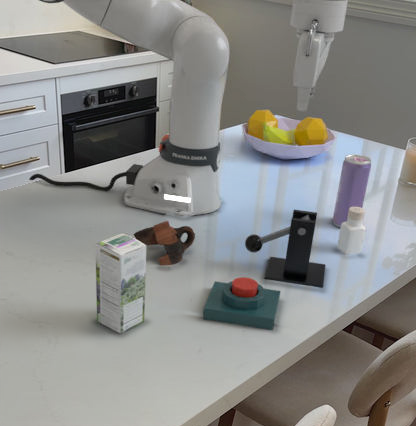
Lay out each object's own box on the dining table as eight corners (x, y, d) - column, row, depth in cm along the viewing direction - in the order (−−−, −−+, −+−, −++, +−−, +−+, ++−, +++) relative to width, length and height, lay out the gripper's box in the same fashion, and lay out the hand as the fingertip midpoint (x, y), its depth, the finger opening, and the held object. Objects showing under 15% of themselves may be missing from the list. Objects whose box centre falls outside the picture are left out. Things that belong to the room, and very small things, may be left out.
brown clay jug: (149, 275, 127) (133, 233, 125) (140, 274, 136) (125, 235, 134) (206, 253, 129) (192, 211, 127) (194, 253, 138) (180, 214, 136)
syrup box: (121, 309, 115) (120, 231, 106) (145, 322, 112) (147, 242, 104) (96, 321, 111) (93, 241, 103) (121, 335, 108) (120, 254, 100)
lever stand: (264, 282, 126) (272, 221, 119) (269, 261, 134) (277, 203, 126) (322, 291, 125) (333, 229, 118) (324, 269, 132) (335, 210, 125)
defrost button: (229, 296, 114) (230, 287, 113) (233, 284, 117) (234, 275, 116) (255, 300, 113) (256, 291, 112) (258, 288, 117) (259, 279, 116)
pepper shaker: (335, 249, 140) (343, 206, 135) (351, 247, 142) (360, 204, 136) (344, 257, 137) (353, 214, 132) (361, 255, 139) (371, 212, 133)
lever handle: (248, 257, 127) (240, 242, 126) (250, 250, 130) (243, 235, 128) (312, 234, 122) (306, 217, 121) (314, 227, 125) (307, 210, 123)
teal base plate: (203, 319, 114) (204, 298, 112) (213, 291, 122) (215, 272, 120) (272, 330, 113) (275, 309, 110) (278, 301, 121) (281, 282, 118)
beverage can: (358, 231, 149) (372, 164, 140) (331, 227, 150) (343, 161, 141) (358, 221, 154) (372, 156, 145) (332, 217, 154) (344, 152, 146)
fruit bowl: (284, 133, 207) (289, 94, 200) (351, 158, 190) (359, 117, 184) (215, 146, 191) (218, 105, 185) (281, 175, 175) (287, 131, 169)
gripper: (331, 27, 102) (316, 121, 110) (341, 11, 118) (327, 93, 126) (290, 22, 103) (278, 115, 111) (306, 7, 119) (294, 89, 127)
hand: (305, 103), depth 118 cm, fingers open, 8 cm apart
